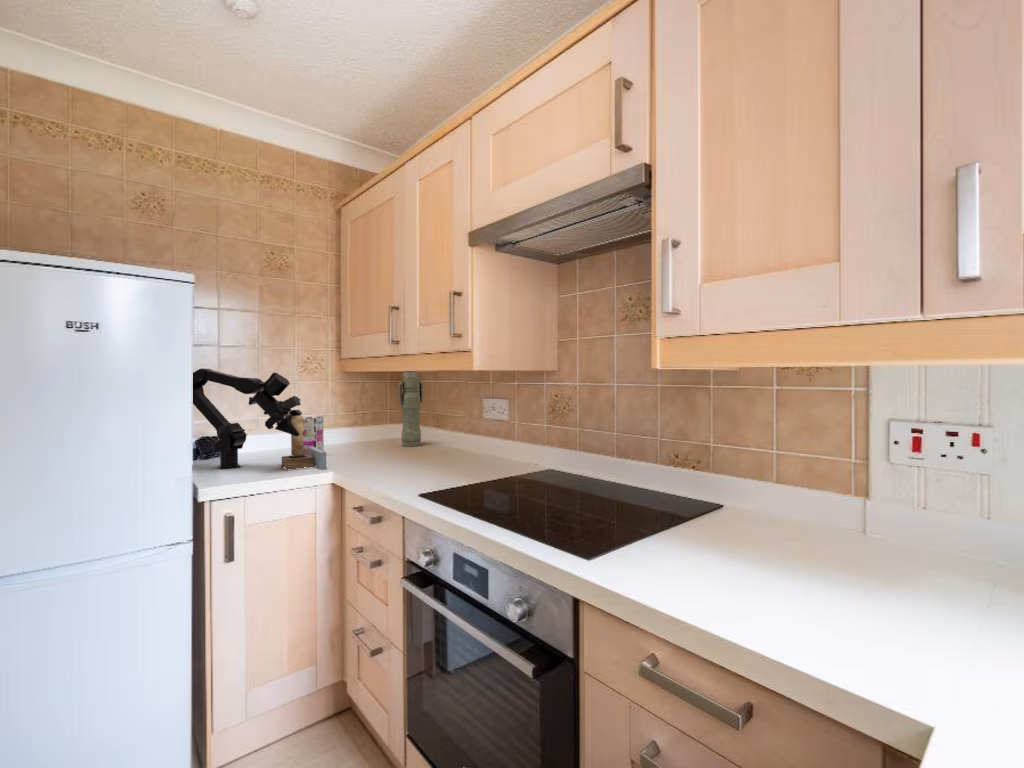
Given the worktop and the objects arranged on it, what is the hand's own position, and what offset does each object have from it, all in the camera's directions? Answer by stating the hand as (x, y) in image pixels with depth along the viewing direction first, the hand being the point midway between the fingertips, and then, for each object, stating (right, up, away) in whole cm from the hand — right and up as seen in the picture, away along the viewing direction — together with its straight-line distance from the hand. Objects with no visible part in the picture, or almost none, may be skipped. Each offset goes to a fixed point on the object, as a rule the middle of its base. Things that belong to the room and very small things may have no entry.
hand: (301, 434), depth 177 cm
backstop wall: (+5, -11, +1) cm, 13 cm away
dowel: (-1, -7, 0) cm, 7 cm away
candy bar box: (-7, -12, +25) cm, 29 cm away
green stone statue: (+29, -11, +53) cm, 62 cm away
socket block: (-1, -12, 0) cm, 12 cm away
